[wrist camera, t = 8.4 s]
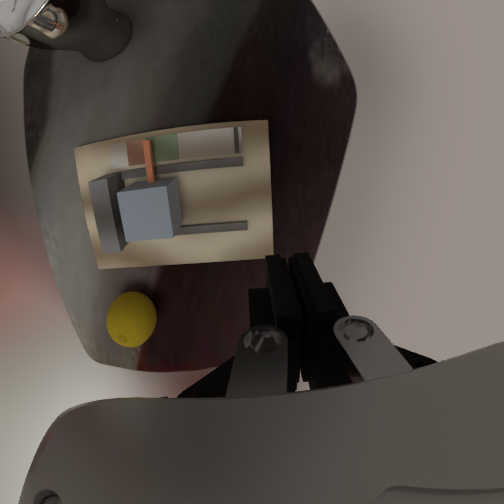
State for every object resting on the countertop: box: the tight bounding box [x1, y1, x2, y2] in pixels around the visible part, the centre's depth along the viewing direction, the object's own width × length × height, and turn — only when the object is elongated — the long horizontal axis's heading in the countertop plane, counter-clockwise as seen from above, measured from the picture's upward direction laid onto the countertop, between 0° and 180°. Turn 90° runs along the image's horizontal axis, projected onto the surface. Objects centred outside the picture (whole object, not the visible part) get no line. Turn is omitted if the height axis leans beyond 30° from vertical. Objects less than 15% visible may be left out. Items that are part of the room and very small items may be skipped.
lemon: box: [106, 291, 157, 347], centre depth 30 cm, size 6×6×8 cm
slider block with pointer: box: [117, 140, 183, 242], centre depth 25 cm, size 8×4×4 cm, turn 3°
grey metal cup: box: [0, 0, 132, 61], centre depth 14 cm, size 7×7×15 cm
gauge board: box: [74, 120, 274, 269], centre depth 27 cm, size 14×20×5 cm
